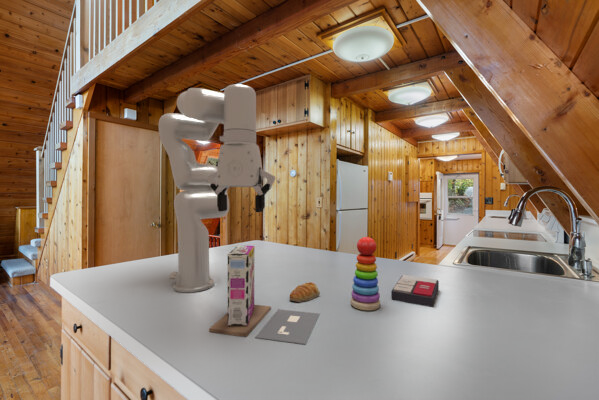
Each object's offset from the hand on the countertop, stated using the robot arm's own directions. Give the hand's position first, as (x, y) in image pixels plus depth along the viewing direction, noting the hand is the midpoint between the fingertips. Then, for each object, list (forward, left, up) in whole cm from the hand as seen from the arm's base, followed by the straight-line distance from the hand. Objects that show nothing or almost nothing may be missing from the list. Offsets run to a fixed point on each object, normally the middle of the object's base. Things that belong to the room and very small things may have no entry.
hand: (240, 211), depth 70 cm
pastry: (+11, +18, -27) cm, 34 cm away
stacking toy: (+29, +16, -27) cm, 42 cm away
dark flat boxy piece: (+43, +28, -27) cm, 58 cm away
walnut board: (0, 0, -26) cm, 26 cm away
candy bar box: (0, 0, -26) cm, 26 cm away
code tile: (+12, 0, -26) cm, 29 cm away
